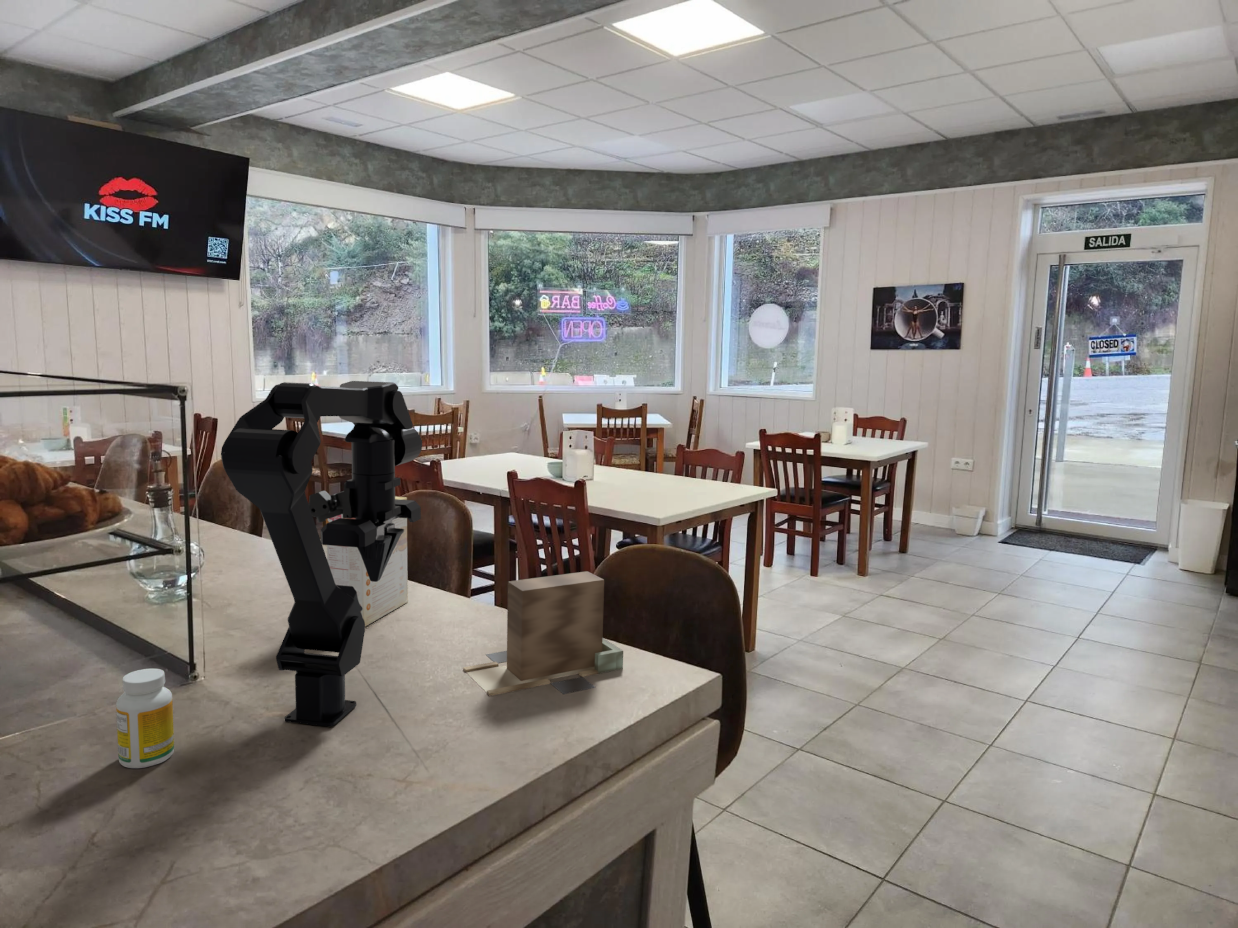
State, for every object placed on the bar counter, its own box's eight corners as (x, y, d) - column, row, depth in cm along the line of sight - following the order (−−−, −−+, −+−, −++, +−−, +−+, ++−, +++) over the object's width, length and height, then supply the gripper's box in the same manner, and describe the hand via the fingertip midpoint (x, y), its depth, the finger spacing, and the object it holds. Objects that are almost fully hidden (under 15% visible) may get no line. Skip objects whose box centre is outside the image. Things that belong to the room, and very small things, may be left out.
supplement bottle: (109, 770, 87) (104, 685, 86) (133, 746, 92) (129, 665, 91) (161, 769, 88) (157, 684, 86) (183, 745, 93) (179, 665, 92)
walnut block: (520, 680, 113) (522, 590, 111) (506, 668, 117) (507, 581, 116) (601, 664, 120) (604, 579, 118) (585, 653, 124) (587, 571, 122)
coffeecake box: (374, 598, 149) (373, 493, 146) (409, 602, 147) (409, 496, 144) (325, 623, 134) (323, 508, 132) (364, 628, 133) (362, 512, 130)
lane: (501, 709, 105) (501, 687, 104) (453, 661, 120) (453, 642, 120) (637, 680, 115) (638, 659, 115) (577, 639, 131) (578, 621, 130)
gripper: (352, 459, 123) (354, 559, 125) (281, 479, 105) (285, 595, 107) (421, 463, 121) (422, 565, 123) (362, 484, 103) (363, 602, 105)
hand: (375, 580), depth 115 cm, fingers closed
